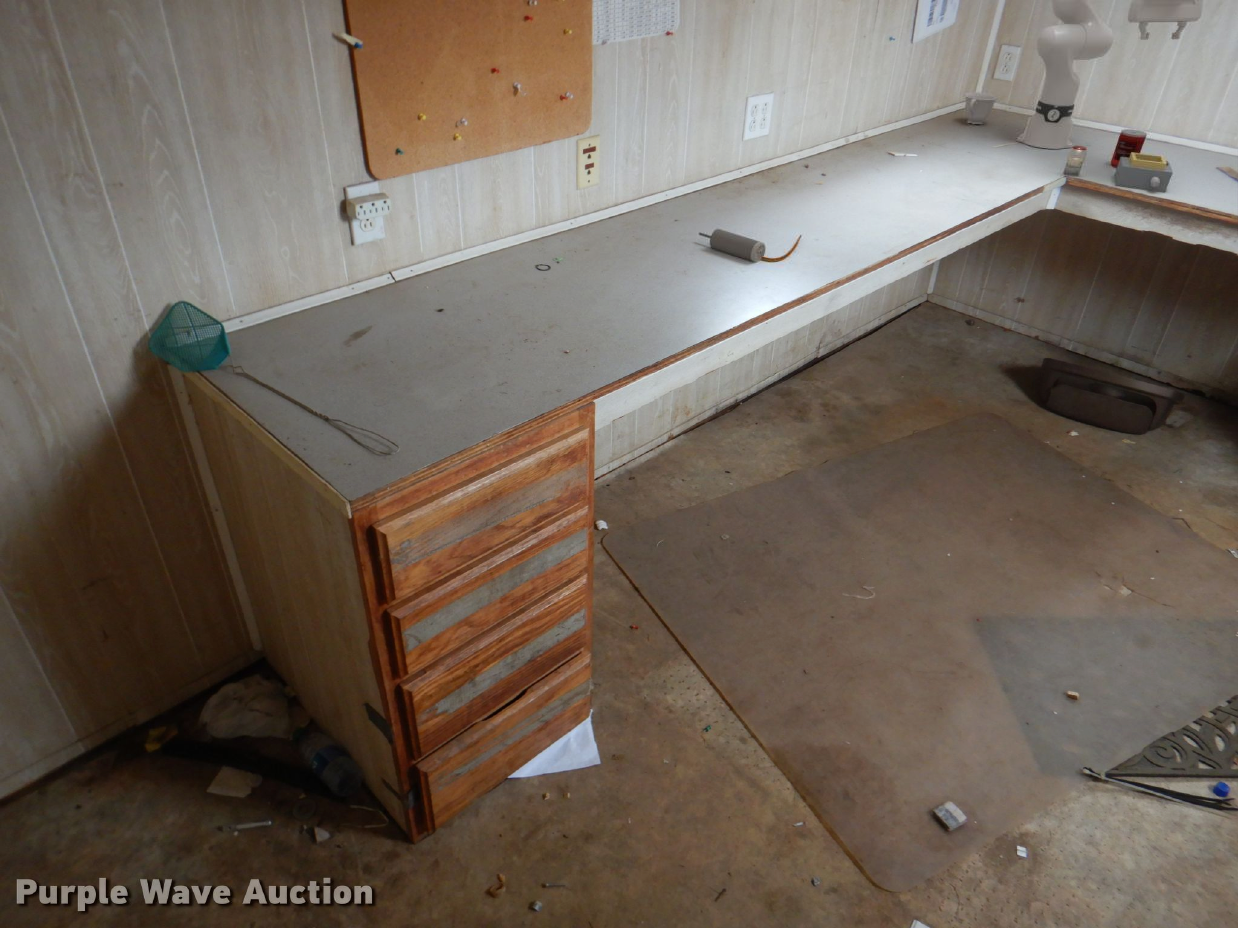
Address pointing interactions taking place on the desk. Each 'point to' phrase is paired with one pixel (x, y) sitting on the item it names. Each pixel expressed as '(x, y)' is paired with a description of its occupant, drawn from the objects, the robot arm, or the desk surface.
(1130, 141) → the canned food
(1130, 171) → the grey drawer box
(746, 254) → the motor
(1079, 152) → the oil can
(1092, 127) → the desk surface
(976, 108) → the teacup
